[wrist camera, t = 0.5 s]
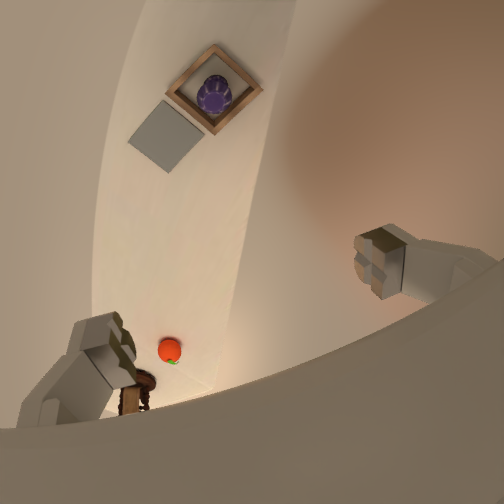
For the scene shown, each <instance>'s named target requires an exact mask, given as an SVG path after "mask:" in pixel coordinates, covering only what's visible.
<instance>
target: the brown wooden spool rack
mask: <svg viewBox="0 0 504 504" xmlns="http://www.w3.org/2000/svg"><path fill="white" fill-rule="evenodd" d="M155 387H156V382H155V380H154V379H153V378H152V377H151V376H149V375H147V374H145V371H144V370H143V372H138V371H136V384H134V385H130V386H127V387H123V388H121V392H120V393H121V394H120V395H119V397H120V398H121V399H120V404H119V405H118V409H119V411H118V413H119V415H118V416H122V415H127V414H132V413H137V412H142V411H140V410H142V409H144V410H145V411H147V410H149V409H150V408H149V405H148V402H149V398H150V395H149V391H152V390H154V389H155ZM139 399H141V402H142V404H144V406H139ZM139 409H140V410H139Z"/></svg>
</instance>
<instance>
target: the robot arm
mask: <svg viewBox="0 0 504 504" xmlns="http://www.w3.org/2000/svg"><path fill="white" fill-rule="evenodd" d="M354 248H355V249H356V251H357V254H356V256H355V258H354V267H355V270H356V273H357V275H358V277H359V279H360V280H361V281H362V282H363V283H366V284H369V285H371V290H372V291H373V292H374V293H375V294H376V295H377V296H378V297H379V298H380V299H381V300H383V299H386V298H388V297H390V296H393V295H395V294H397V293H400V292H401V293H403V294H405V295H408V296H411V297H414V298H416V299H419V300H421V301H424V302H426V303H429V305H427V306H425V307H424V308H422V309H420V310H418V311H416V312H414V313H412V314H410V315H409V316H407V317H405V318H403V319H401V320H399V321H397V322H395V323H393V324H391V325H389V326H387V327H385V328H383V329H381V330H379V331H376V332H374V333H372V334H370V335H368V336H366V337H364V338H362V339H359V340H357V341H355V342H353V343H350V344H348V345H346V346H343V347H341V348H339V349H337V350H334V351H332V352H329V353H327V354H325V355H322V356H320V357H317V358H315V359H312V360H310V361H308V362H305V363H302V364H300V365H297V366H295V367H292V368H289V369H287V370H284V371H281V372H278V373H276V374H273V375H270V376H267V377H264V378H261V379H258V380H255V381H252V382H249V383H247V384H244V385H240V386H238V387H234V388H231V389H227V390H224V391H221V392H217V393H214V394H211V395H207V396H204V397H200V398H196V399H192V400H189V401H185V402H181V403H177V404H173V405H169V406H165V407H161V408H156V409H151V410H147V411H142V412H137V413H132V414H127V415H122V416H116V417H110V418H105V419H99V418H100V416H101V414H102V412H103V410H104V408H105V406H106V404H107V402H108V401H109V399H110V397H111V395H112V393H113V390H115V389H119V388H123V387H127V386H130V385H134V384H136V367H135V366H134V364H133V363H134V361H135V360H136V348H135V344H134V341H133V339H132V336H131V335H130V333H129V331H127V330H125V329H123V328H122V326H123V320H122V319H121V317H120V315H119V314H118V313H117V312H116V311H114V312H110V313H107V314H103V315H99V316H95V317H92V318H89V319H84V320H81V321H78V322H76V323H75V324H74V327H73V331H72V334H71V338H70V341H69V345H68V349H67V352H66V355H63V356H62V357H61V358H60V359H59V360H58V361H57V362H56V363H55V364H54V365H53V367H52V368H51V369H50V370H49V371H48V372H47V373H46V375H45V376H44V377H43V378H42V379H41V380H40V382H39V383H38V384H37V385H36V386H35V388H34V389H33V390H32V391H31V392H30V393H29V395H28V396H27V397H26V398H25V399H24V401H23V402H22V405H21V409H20V413H19V417H18V422H17V427H16V428H9V429H0V504H504V258H503V259H502V260H500V261H499V262H498V261H497V260H495V259H494V258H492V257H491V256H489V255H488V254H486V253H485V252H483V251H481V250H480V249H476V248H471V247H465V246H460V245H454V244H449V243H443V242H437V241H431V240H425V239H422V240H418V239H417V238H415V237H413V236H412V235H411V234H409V233H407V232H406V231H404V230H402V229H401V228H399V227H397V226H395V225H394V224H387V225H384V226H382V227H379V228H377V229H374V230H371V231H369V232H366V233H363V234H360V235H358V236H355V239H354Z"/></svg>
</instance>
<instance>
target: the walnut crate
mask: <svg viewBox="0 0 504 504" xmlns="http://www.w3.org/2000/svg"><path fill="white" fill-rule="evenodd" d="M213 53H215V54H216V55H217V56H218V57H220V58H221V59H222V60H223V61H224V62H225V63H226V64H227V65H228V66H230V67H231V68H232V69H233V70H234V71H235V72H236V73H237V74H238V75H239V76H240V77H241V78H243V79H244V80H245V81H246V82H247V83H248V84H249V85H250V87H249V88H248V89H247V90H246V91H245V92H244V93H243V94H242V95H241V96H239V97H238V98H237V99H236V100H235V101H234V102H233V103H232V104H231V105H230V106H229V107H228V108H227V109H226V110H225V111H224V112H223V113H222V114H221V115H220V116H219V117H217V118H216V119H215V120H212V119H211V118H210V117H209V116H208V115H207V114H206V113H204V112H203V111H202V110H201V109H200V108H199V107H197V106H196V105H195V104H194V103H193V102H192V101H190V100H189V99H188V98H187V97H186V96H184V95H183V94H182V93H181V92H180V91H178V90H177V88H178V87H179V86H180V85H181V84H182V83H183V82H184V81H185V80H186V79H187V78H188V77H189V76H190V75H191V74H192V73H193V72H194V71H195V70H196V69H197V68H198V67H199V66H200V65H201V64H202V63H203V62H204V61H205V60H206V59H207V58H208V57H209V56H211V55H212V54H213ZM262 91H263V89H262V88H261V87H260V86H259V85H258V84H257V83H256V82H255V81H254V80H253V79H252V78H251V77H250V76H249V75H248V74H247V73H246V72H245V71H244V70H243V69H241V68H240V67H239V66H238V65H237V64H236V63H235V62H234V61H233V60H232V59H231V58H229V57H228V56H227V55H226V54H225V53H224V52H223V51H222V50H221V49H219V48H218V47H217V46H216V45H215V44H213V45H212V46H211V47H210V48H209V49H208V50H207V51H206V52H205V53H204V54H203V55H202V56H201V57H200V58H199V59H198V60H197V61H195V62H194V63H193V64H192V65H191V66H190V67H189V68H188V69H187V70H186V71H185V73H184V74H183V75H182V76H181V77H180V78H179V79H178V80H177V81H176V82H175V83H174V84H173V85H172V86H171V87H170V88H169V89H168V90H167V92H166V93H165V94H166V95H167V96H168V97H169V98H171V99H172V100H173V101H174V102H175V103H177V104H178V105H179V106H180V107H182V108H183V109H184V110H185V111H186V112H188V113H189V114H190V115H191V116H192V117H193V118H195V119H196V120H197V121H198V122H199V123H201V124H202V125H203V126H204V127H205V128H206V129H208V130H209V131H210V132H211V133H212V134H213V135H214V136H215V135H216V134H217V133H218V132H219V131H220V130H221V129H222V128H223V127H224V126H225V125H226V124H227V123H228V122H229V121H230V120H231V119H232V118H233V117H234V116H235V115H237V114H238V113H239V112H240V111H241V110H242V109H243V108H244V107H245V106H246V105H247V104H248V103H249V102H251V101H252V100H253V99H254V98H255V97H256V96H257V95H258V94H259V93H261V92H262Z"/></svg>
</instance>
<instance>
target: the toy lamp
mask: <svg viewBox="0 0 504 504" xmlns="http://www.w3.org/2000/svg"><path fill="white" fill-rule="evenodd" d="M231 101H232V93H231V91H230V89H229V87H228V83H227V81H226V79H225V78H224V77H222V76H219V75H213V76H210V77H209V78H207V79H206V80H205V82H204V85H203V86H202V87H201V88H200V89H199V91H198V93H197V103H198V105H199V107H200V108H201V109H202V110H203V111H204V112H206V113H209V114H219V113H221V112H223V111H225V110H226V109H227V108H228V107H229V106H230V104H231Z"/></svg>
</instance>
